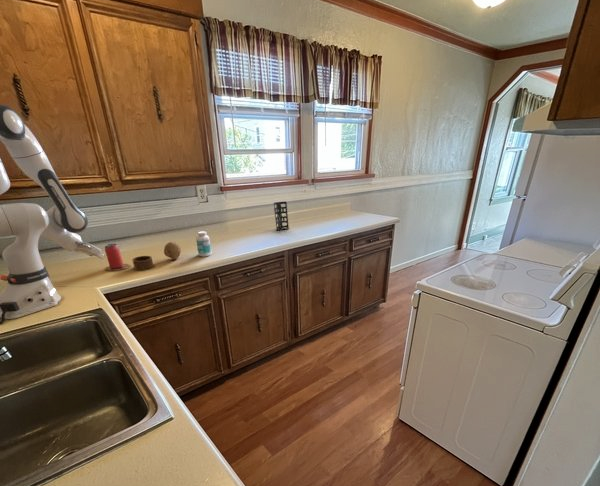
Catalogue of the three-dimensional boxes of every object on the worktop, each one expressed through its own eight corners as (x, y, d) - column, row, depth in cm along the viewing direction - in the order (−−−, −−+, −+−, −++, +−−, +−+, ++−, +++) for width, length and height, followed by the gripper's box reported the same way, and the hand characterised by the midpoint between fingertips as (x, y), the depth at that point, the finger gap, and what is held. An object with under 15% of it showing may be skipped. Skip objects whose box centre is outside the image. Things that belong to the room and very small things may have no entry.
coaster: (116, 272, 168) (115, 271, 168) (101, 269, 172) (101, 268, 172) (133, 266, 177) (133, 265, 177) (119, 263, 181) (118, 262, 181)
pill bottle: (196, 255, 194) (192, 232, 187) (207, 252, 198) (204, 230, 192) (202, 257, 189) (199, 234, 183) (214, 254, 194) (210, 232, 187)
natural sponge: (170, 263, 181) (166, 245, 176) (162, 259, 186) (159, 242, 182) (185, 259, 187) (182, 242, 182) (177, 256, 192) (174, 239, 187)
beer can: (118, 269, 171) (111, 246, 165) (107, 268, 172) (100, 246, 167) (126, 265, 177) (120, 243, 171) (116, 264, 178) (109, 243, 172)
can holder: (143, 271, 169) (141, 262, 167) (130, 269, 173) (128, 259, 170) (157, 265, 177) (155, 256, 174) (144, 263, 180) (142, 255, 178)
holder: (279, 230, 247) (277, 202, 239) (273, 229, 252) (270, 202, 244) (290, 228, 253) (288, 201, 245) (284, 227, 259) (282, 201, 251)
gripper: (86, 237, 148) (113, 253, 160) (62, 233, 157) (89, 248, 169) (80, 249, 147) (107, 264, 159) (56, 244, 156) (83, 258, 168)
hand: (97, 256), depth 164 cm, fingers open, 8 cm apart
